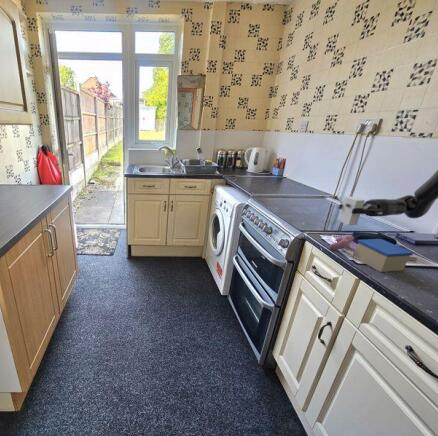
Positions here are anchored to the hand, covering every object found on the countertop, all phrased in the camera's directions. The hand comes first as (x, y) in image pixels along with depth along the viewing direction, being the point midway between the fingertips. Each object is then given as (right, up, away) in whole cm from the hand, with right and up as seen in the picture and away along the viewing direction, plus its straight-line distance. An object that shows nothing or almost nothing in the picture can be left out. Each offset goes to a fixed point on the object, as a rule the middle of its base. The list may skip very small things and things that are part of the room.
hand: (346, 208), depth 105 cm
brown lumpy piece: (-8, -16, -7) cm, 19 cm away
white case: (+2, -6, +3) cm, 7 cm away
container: (-3, -20, -17) cm, 27 cm away
